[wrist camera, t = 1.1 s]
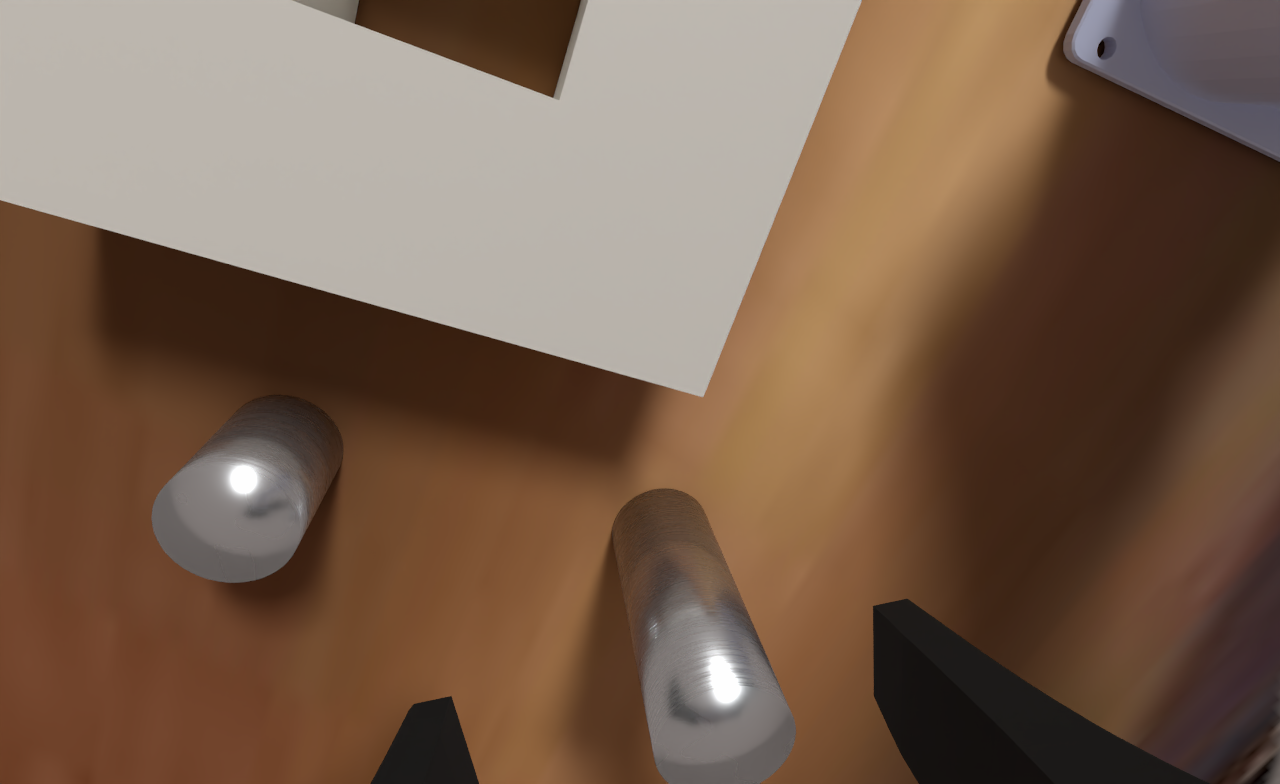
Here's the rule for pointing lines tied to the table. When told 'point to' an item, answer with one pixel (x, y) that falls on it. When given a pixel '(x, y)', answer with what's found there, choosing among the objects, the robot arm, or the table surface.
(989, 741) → the robot arm
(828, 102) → the table surface
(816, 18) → the hole block
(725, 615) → the tall steel pin
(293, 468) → the short steel pin
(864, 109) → the table surface
